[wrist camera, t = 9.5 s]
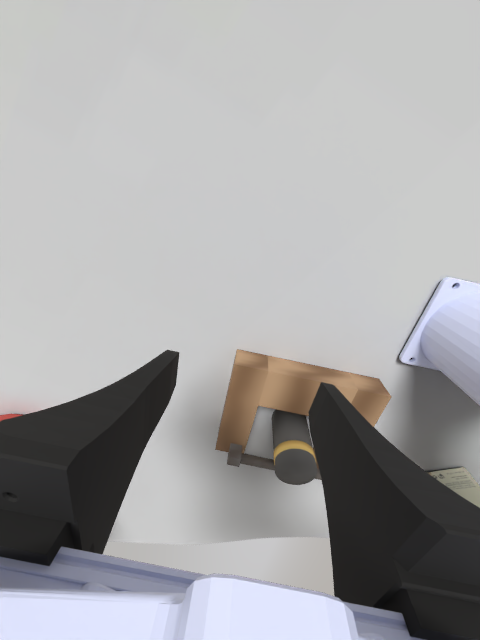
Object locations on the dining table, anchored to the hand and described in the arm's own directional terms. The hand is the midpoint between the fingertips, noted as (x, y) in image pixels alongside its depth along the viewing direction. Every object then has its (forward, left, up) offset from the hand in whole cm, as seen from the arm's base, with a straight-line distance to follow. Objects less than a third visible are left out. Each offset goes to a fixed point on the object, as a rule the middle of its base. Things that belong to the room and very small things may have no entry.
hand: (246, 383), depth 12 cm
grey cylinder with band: (-7, +12, -10) cm, 17 cm away
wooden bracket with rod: (-7, +10, -10) cm, 16 cm away
